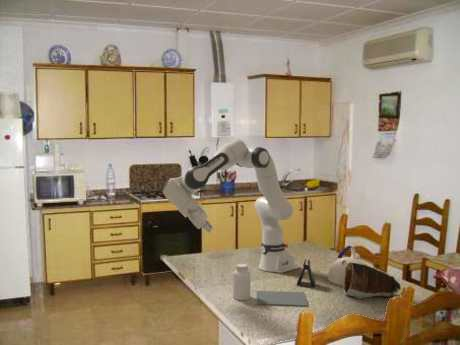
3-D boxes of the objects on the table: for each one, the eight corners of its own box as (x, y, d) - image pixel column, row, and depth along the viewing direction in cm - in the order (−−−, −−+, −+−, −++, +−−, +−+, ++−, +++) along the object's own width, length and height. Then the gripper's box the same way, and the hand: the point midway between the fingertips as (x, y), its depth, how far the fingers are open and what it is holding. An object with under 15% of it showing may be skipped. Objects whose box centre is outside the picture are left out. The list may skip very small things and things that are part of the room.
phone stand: (315, 283, 230) (316, 260, 229) (314, 287, 224) (315, 263, 223) (297, 281, 232) (298, 258, 231) (296, 285, 226) (297, 261, 225)
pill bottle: (231, 294, 212) (232, 262, 211) (249, 294, 213) (249, 262, 211) (233, 301, 204) (234, 267, 203) (251, 300, 205) (252, 267, 204)
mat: (257, 304, 200) (257, 303, 200) (256, 291, 216) (256, 290, 216) (307, 306, 199) (308, 305, 199) (303, 293, 215) (303, 292, 215)
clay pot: (409, 276, 207) (354, 264, 207) (402, 310, 206) (347, 297, 206) (397, 270, 221) (346, 259, 222) (391, 301, 221) (340, 290, 221)
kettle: (375, 280, 237) (377, 246, 236) (356, 290, 222) (357, 253, 220) (340, 271, 251) (341, 239, 249) (319, 280, 236) (321, 245, 234)
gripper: (192, 207, 201) (214, 230, 202) (197, 200, 221) (217, 221, 222) (181, 217, 202) (203, 239, 202) (188, 209, 222) (207, 229, 223)
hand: (210, 230), depth 212 cm, fingers open, 4 cm apart
